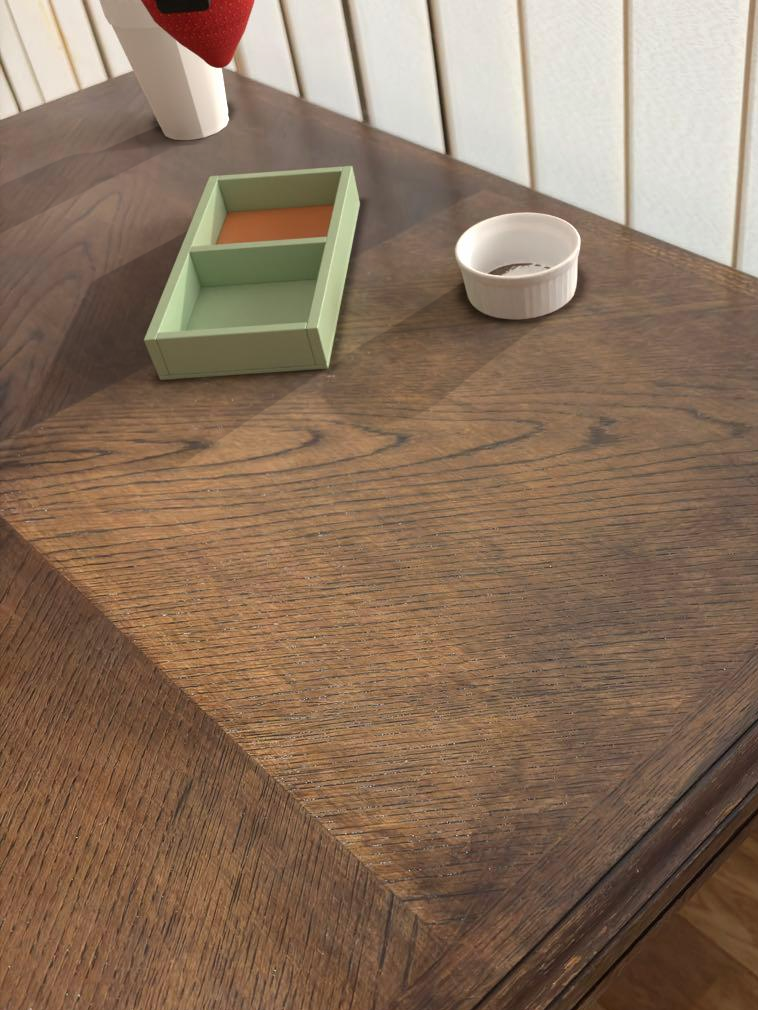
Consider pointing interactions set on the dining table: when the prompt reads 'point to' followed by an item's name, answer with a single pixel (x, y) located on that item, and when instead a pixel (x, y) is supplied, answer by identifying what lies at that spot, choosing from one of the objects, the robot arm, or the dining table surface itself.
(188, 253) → the tray
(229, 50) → the strawberry
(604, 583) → the dining table surface
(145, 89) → the foam cup
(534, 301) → the ramekin
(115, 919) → the dining table surface
